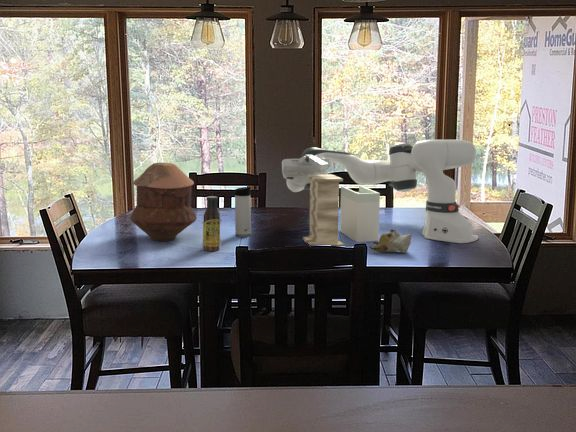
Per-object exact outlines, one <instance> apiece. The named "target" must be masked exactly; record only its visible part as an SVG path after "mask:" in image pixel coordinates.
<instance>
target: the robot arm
mask: <svg viewBox="0 0 576 432" xmlns="http://www.w3.org/2000/svg"><path fill="white" fill-rule="evenodd" d="M388 151H389V153H388V155H389V161H387V160H382V159H363V158H361V157H359V156H357V154H355V153H353V152H349V151H339V150H331V149H330V150H329V149H323V148H319V147H316V146H315V147H313V146H311V147H308V148H306V149H305V150H304V151H303V152H302V153H301V156H300V158H286V159H285V158H284V159H282V161H281V173H282V176H283V179H284V180H285V181H286V182H285V183H286V187H287V188H288V190H289V191H291V192H293V193H298V192H301V191H303V190H307V191H309V192H310V179H309V178H307V175H316V174H329V173H328V170H329V168H331V166H332V164H331V163H338V164H340V165H341V166H342V167H343V168H344V170H346V171H347V173H348V175H349V177H350V178H351V179H352V180H353V182H355V184H358V185H360V186H365V185H368V186H369V185H374V184H375V185H377V184H381V183H385V182H389V183H388V185H389V186H390V187H392V188H393V190H395V191H397V192H401V193H409V192H411V191H412V190H414V189H416V188H417V183H418V179H417V173H418V174H420V175H424V176H425V178H426V183H427V184H426V186H427V200H425V201H426V202H425V218H424V219H425V220H424V226H423V230H422V231H421V235H422V236H423V237H424V238H425V239H426V240H434V241H440V242H441V241H442V242H447V243H456V244H466V243H472V242H475V241H477V240H479V236H478V235H476V234H473V233H474V230H473V226H472V222H470V221H469V220H468V219H467V218H466V216H464V215H463V214H462V213H461V212H460V210H459V208H461V206H462V204H458V203H457V201H456V195H457V194H456V192H457V183H456V181H455V180H454V179H453V178H451V176H448V175H446V174H445V173H444V171H446V170H451V169H456V168H461V167H467V166H471V165H472V164H473V163H474V161H476V160H475V159H476V156H477V150H476V147H475V145H474V143H473V142H472V141H469V140H464V139H424V140H419V141H416V142H415V143H414V144H413V145H412V144H410V143H406V142H397V143H395V144H393V145H391V146H390V147H389V150H388ZM310 154H312V155H314V156H315V157H317V158H319V159H321V160H323V161H324V162H326V163H328V170H319V169H318V168H316V167H314V166H313V165H311V164H309V163H308V162H306V161H307V156H305V155H310Z"/></svg>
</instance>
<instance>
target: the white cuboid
mask: <svg viewBox="0 0 576 432" xmlns="http://www.w3.org/2000/svg"><path fill="white" fill-rule="evenodd" d="M380 198H381V192H378V191H376V190H372V189H371V188H368V187H365V186H364V185H359V187H358V191H354V190H352V189H351V188H349V187H345V186H343V185H342V186H340V212H339V213H340V216H339V217H340V219H339V222H340V223H339V227H340V229H339V231H340V232H341V233H342V234H343V235H345V236H347V237H348V238H350V239H351V240H353V241H354V242H356V243H365V242H378V241H379V238H380V236H379V230H380V202H381V199H380Z"/></svg>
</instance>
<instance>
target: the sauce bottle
mask: <svg viewBox="0 0 576 432" xmlns="http://www.w3.org/2000/svg"><path fill="white" fill-rule="evenodd" d="M205 200H206V209H205V212H204V214H203V222H202V249H203V250H204V251H208V252H217V251H219V250H220V245H221V215H220V212H219V210H218V196H214V195H210V196H206V199H205Z"/></svg>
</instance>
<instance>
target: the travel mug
mask: <svg viewBox="0 0 576 432" xmlns="http://www.w3.org/2000/svg"><path fill="white" fill-rule="evenodd" d="M251 190H252V186H245V187H238V188H235V189H234V215H235V216H234V221H235V222H234V224H235V227H234V228H235V229H234V232H235V236H236V237H237V238H248V237H251V235H252V230H251V229H252V221H251V219H252V217H251V213H252V212H251V211H252V210H251V209H252V208H251V207H252V204H251V203H252V201H251V200H252V199H251Z"/></svg>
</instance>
